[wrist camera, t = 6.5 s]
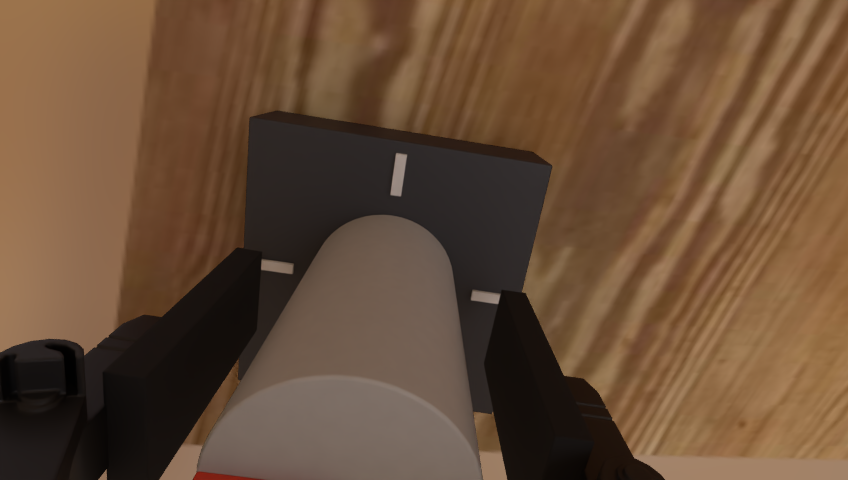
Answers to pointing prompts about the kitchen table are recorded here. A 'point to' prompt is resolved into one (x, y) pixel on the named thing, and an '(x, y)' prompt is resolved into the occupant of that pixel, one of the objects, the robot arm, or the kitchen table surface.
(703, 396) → the kitchen table surface
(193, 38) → the kitchen table surface
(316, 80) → the kitchen table surface
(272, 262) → the panel
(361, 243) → the timer knob
